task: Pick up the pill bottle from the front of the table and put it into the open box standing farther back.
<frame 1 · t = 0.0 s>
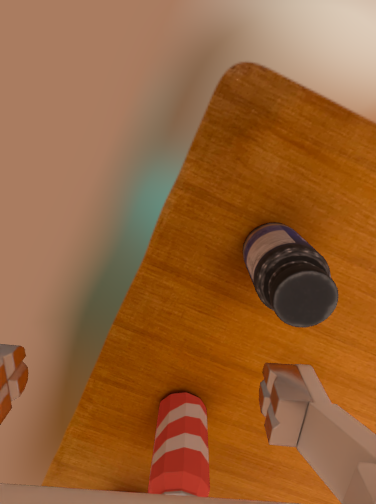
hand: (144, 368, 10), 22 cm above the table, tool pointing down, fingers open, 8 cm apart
pill bottle: (269, 248, 32), on the table
beverage can: (182, 405, 40), on the table
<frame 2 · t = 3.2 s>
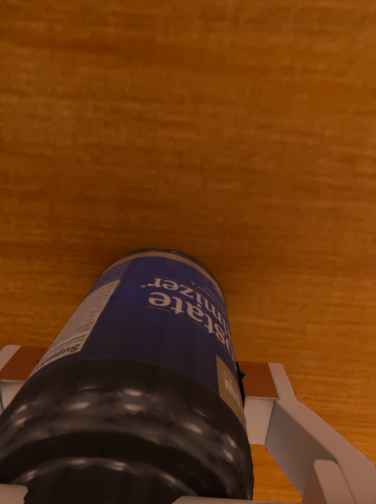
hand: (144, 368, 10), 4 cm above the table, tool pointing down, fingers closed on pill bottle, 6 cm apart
pill bottle: (159, 302, 14), on the table, touching gripper
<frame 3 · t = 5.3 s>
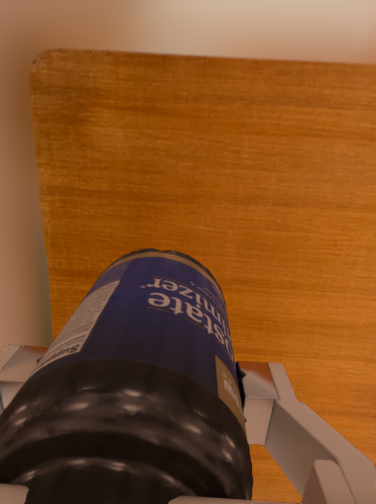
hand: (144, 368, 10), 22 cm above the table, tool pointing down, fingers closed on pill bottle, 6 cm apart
pill bottle: (159, 303, 14), point 17 cm above the table, touching gripper
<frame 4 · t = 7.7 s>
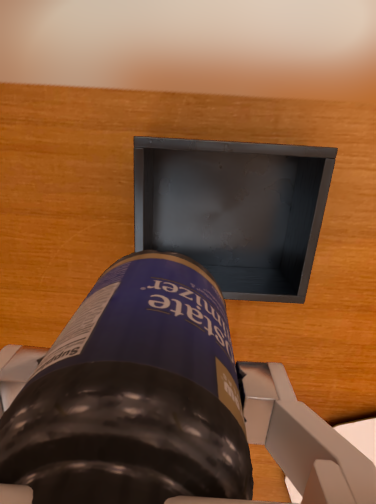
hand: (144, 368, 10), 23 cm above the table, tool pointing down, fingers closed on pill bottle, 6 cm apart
open box: (220, 209, 32), on the table
pill bottle: (159, 304, 14), point 19 cm above the table, touching gripper
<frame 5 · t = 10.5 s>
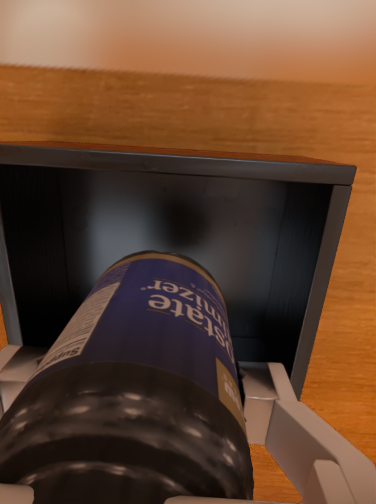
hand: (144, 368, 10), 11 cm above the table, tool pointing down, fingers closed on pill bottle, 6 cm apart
open box: (170, 252, 21), on the table
pill bottle: (159, 304, 14), point 7 cm above the table, touching gripper
when the fingers open (5 cm above the table, at t = 12.7 s): pill bottle stays where it is, resting on open box.
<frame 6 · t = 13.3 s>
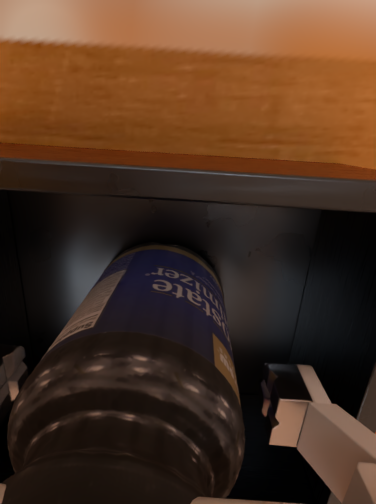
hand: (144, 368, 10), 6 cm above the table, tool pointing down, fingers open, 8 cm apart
open box: (163, 288, 16), on the table
pill bottle: (161, 294, 15), point 1 cm above the table, touching open box
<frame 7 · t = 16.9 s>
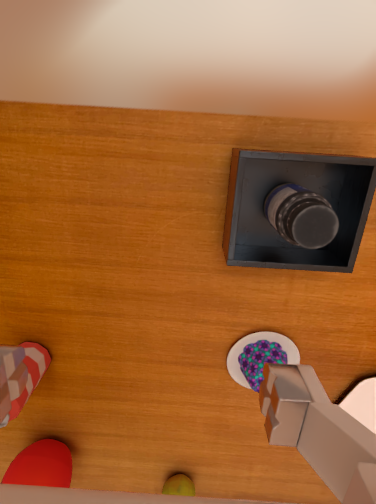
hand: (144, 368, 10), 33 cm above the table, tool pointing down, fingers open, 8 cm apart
fruit: (179, 476, 62), on the table
open box: (283, 203, 41), on the table
pudding: (261, 358, 51), on the table
pill bottle: (284, 204, 41), point 1 cm above the table, touching open box
tomato: (55, 444, 59), on the table
beverage can: (34, 353, 52), on the table
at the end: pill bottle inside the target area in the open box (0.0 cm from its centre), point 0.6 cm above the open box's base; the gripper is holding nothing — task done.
